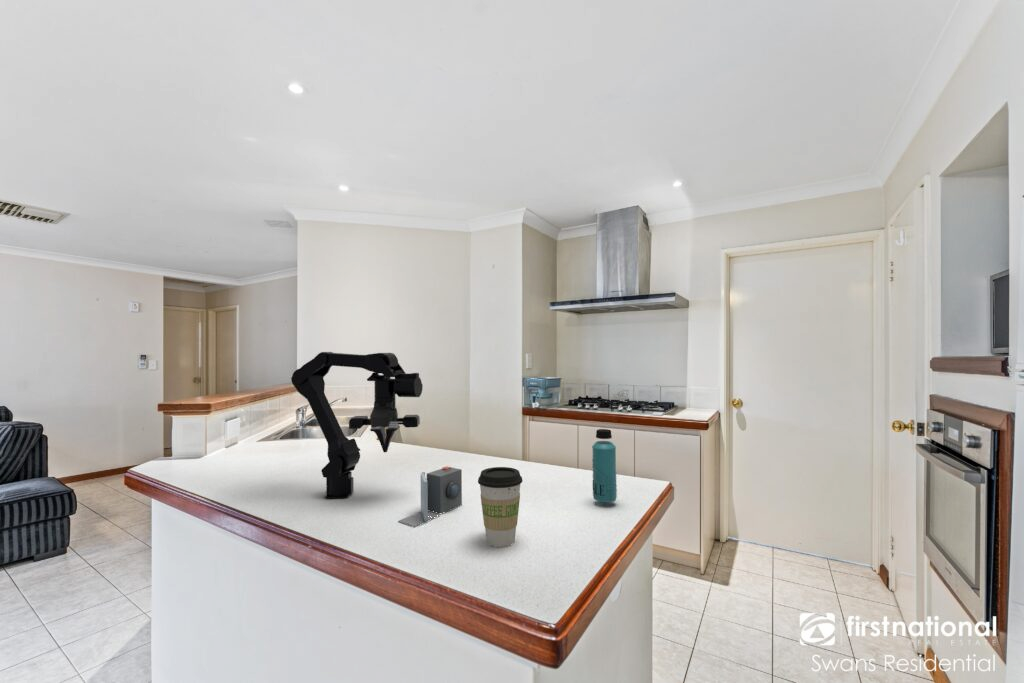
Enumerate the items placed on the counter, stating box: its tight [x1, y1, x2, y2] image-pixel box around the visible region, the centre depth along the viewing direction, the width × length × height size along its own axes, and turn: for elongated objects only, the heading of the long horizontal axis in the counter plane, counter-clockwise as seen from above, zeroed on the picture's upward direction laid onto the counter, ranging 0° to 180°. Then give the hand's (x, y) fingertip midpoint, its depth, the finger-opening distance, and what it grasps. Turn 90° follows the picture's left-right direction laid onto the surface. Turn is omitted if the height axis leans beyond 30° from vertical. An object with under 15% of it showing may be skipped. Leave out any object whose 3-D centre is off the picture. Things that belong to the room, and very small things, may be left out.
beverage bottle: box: [591, 428, 618, 503], centre depth 120 cm, size 6×7×20 cm
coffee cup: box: [477, 466, 523, 548], centre depth 98 cm, size 10×10×15 cm
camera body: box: [398, 465, 463, 528], centre depth 114 cm, size 6×17×10 cm, turn 144°
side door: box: [420, 471, 429, 522], centre depth 113 cm, size 1×9×9 cm, turn 18°
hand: (385, 452), depth 127 cm, fingers closed
